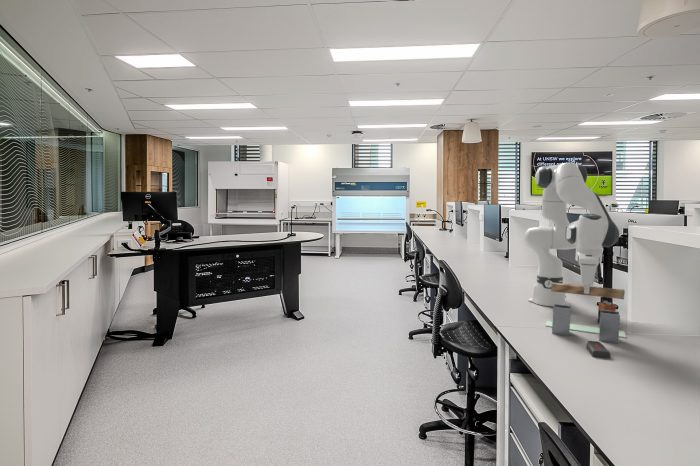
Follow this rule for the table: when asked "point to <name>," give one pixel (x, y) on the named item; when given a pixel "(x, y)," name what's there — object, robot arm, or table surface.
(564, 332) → the stand
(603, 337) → the stand
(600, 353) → the usb drive
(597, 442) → the table surface
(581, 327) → the mat
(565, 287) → the rail
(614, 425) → the table surface
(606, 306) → the battery
